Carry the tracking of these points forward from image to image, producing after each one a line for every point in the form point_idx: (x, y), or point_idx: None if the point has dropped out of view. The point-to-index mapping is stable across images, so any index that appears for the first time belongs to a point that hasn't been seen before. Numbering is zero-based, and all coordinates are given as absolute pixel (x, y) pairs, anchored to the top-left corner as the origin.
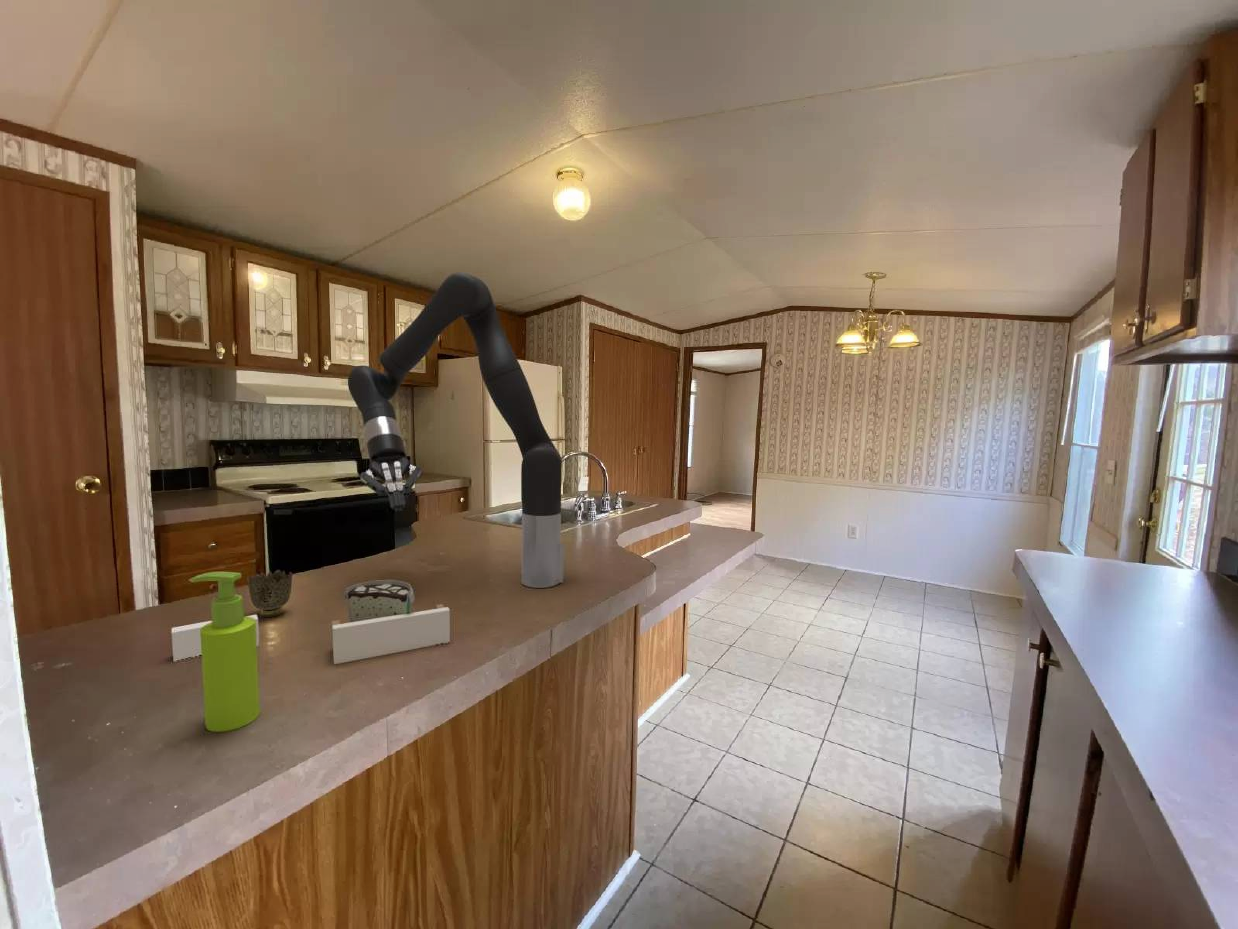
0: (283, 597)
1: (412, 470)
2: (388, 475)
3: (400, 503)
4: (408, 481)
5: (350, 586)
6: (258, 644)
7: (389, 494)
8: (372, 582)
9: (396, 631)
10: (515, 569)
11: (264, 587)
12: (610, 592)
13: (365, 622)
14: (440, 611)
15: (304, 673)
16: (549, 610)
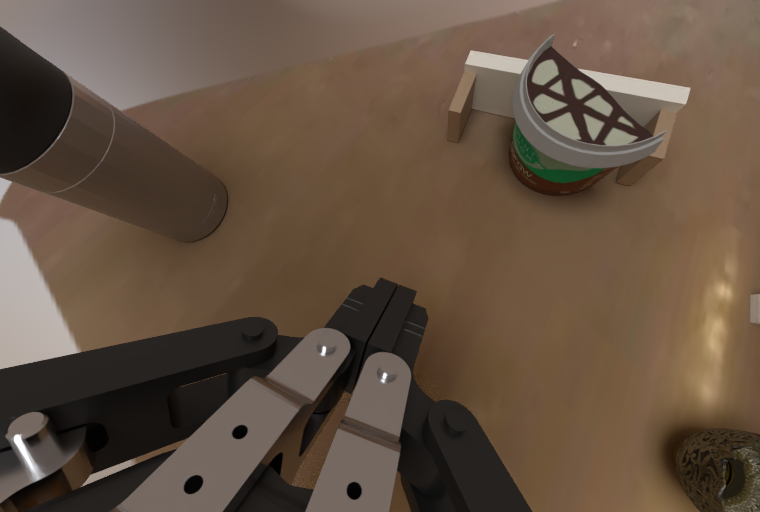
0: (711, 431)
1: (41, 421)
2: (341, 499)
3: (387, 285)
4: (225, 346)
5: (651, 137)
6: (754, 295)
7: (411, 367)
8: (586, 144)
9: None
10: (161, 303)
11: None
12: (177, 99)
13: (624, 81)
14: (486, 53)
15: (696, 133)
16: (287, 100)
